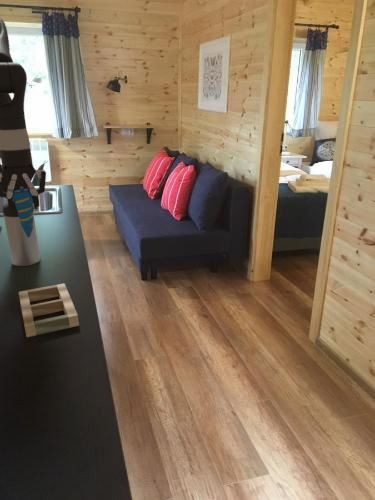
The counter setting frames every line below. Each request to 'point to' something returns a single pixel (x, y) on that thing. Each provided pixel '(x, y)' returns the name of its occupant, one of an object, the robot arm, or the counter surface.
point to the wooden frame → (47, 310)
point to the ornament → (24, 208)
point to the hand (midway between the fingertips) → (24, 209)
